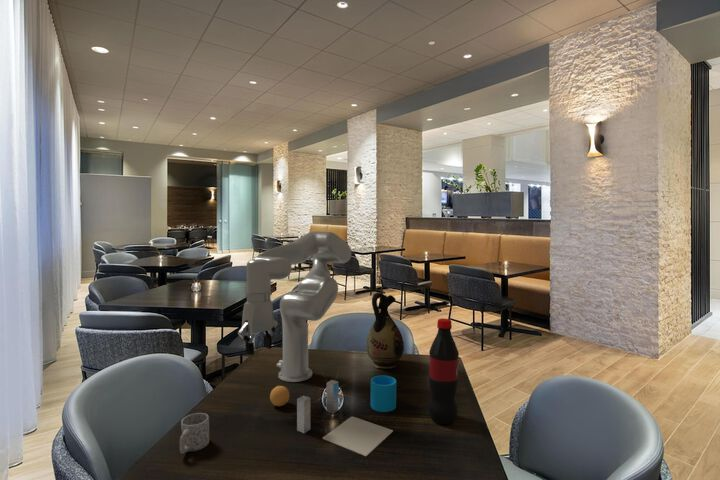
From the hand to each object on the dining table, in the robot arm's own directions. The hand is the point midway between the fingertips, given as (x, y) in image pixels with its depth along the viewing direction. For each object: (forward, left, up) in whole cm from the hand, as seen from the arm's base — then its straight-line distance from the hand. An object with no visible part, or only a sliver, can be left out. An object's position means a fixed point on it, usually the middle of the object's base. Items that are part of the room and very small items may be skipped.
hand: (259, 350), depth 126 cm
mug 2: (+35, +20, -16) cm, 44 cm away
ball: (+9, 0, -13) cm, 16 cm away
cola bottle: (+55, +21, -16) cm, 61 cm away
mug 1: (+7, -29, -16) cm, 34 cm away
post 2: (+25, +7, -16) cm, 31 cm away
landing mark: (+39, 0, -16) cm, 43 cm away
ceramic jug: (+19, +48, -16) cm, 54 cm away
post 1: (+25, -7, -16) cm, 31 cm away
